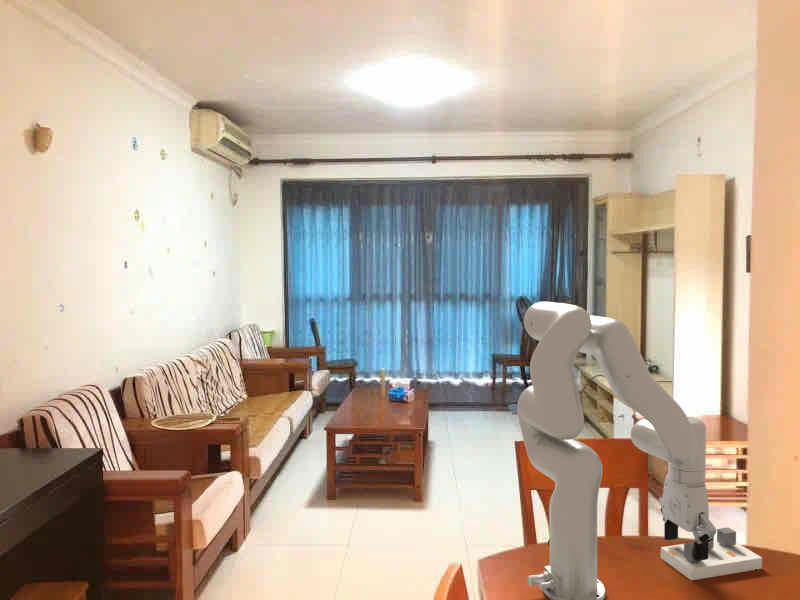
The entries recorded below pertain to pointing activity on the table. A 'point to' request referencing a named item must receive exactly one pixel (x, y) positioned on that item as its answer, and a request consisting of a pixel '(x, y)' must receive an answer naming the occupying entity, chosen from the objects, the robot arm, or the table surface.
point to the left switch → (689, 551)
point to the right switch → (726, 536)
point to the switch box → (712, 561)
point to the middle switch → (710, 545)
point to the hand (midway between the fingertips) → (685, 549)
